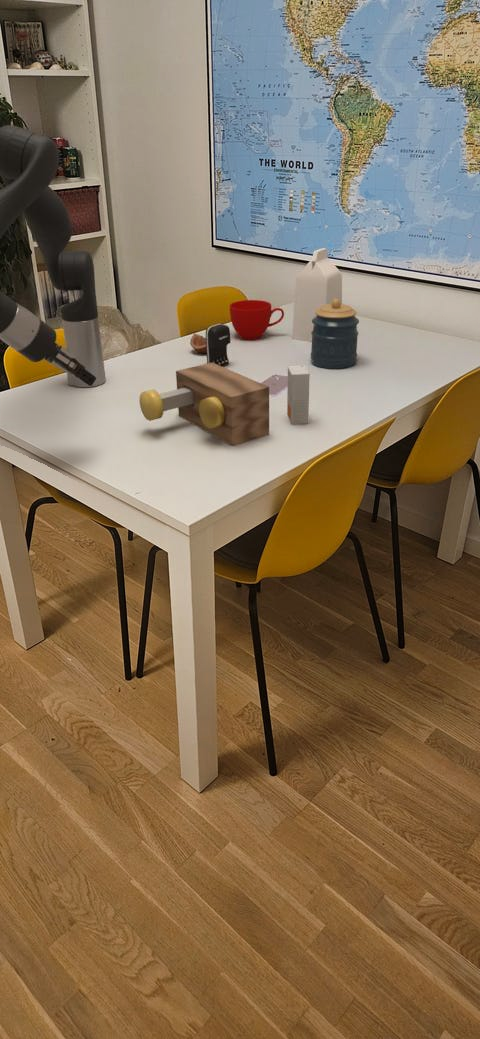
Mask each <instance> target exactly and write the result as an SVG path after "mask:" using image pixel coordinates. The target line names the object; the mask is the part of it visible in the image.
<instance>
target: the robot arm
mask: <svg viewBox="0 0 480 1039" xmlns="http://www.w3.org/2000/svg"><path fill="white" fill-rule="evenodd" d="M59 154H60V152H59V148H58V146H57V144H56V142H55V141H54V140H53V139H52V138H50V137H48V136H46V135H43V134H41V133H38V132H35V131H31V130H29V129H26V128H22V127H20V126H17V125H10V124H9V125H8V124H7V125H3V126H0V177H1V178H2V180H3V181H4V183H5V185H6V186H5V187H2V188H0V240H1V239H2V237H3V236H4V234H5V233H6V231H7V230H8V229H9V228H10V227H11V225H13V223H14V222H15V221H16V220H17V218H19V217H20V216H21V215H23V217H24V219H25V223H26V225H27V227H28V229H29V231H30V233H31V236H32V237H33V239H34V241H35V242H36V245H37V247H38V249H39V252H40V254H41V256H42V258H43V262H44V265H45V268H46V272H47V274H48V277H49V280H50V283H51V284H52V286H53V287H54V288H55V289H56V290H58V291H64V292H67V291H68V292H72V291H74V292H75V291H81V292H82V293H81V296H79V297H78V298H77V299H75V300H73V301H71V302H68V303H66V304H64V305H63V306H62V307H61V308H60V317H61V322H62V329H63V330H62V331H63V337H64V342H65V347H64V346H62V345H60V344H58V343H56V341H57V338H58V337H57V332H56V330H55V329H54V328H52V327H51V326H50V325H49V324H48V323H46V322H44V320H42V319H41V318H39V317H38V316H37V315H36V314H34V313H33V312H31V311H30V310H29V309H28V308H26V307H24V306H22V305H21V304H19V303H18V302H16V301H15V300H14V299H12V298H11V297H9V296H8V295H6V294H5V293H4V292H2V291H1V290H0V340H1V341H2V342H3V343H5V344H6V345H8V346H9V347H10V348H12V349H13V350H14V351H16V352H17V353H19V354H20V355H21V356H23V357H25V358H26V359H27V360H29V361H30V362H32V363H39V362H41V361H43V360H44V361H46V362H47V363H49V364H51V365H53V366H54V367H56V368H58V369H60V370H61V371H62V372H64V373H66V375H67V381H68V382H67V383H68V386H74V387H77V388H92V387H93V388H94V387H97V386H100V385H102V384H105V383H106V380H107V378H106V370H105V360H104V353H103V346H102V345H103V343H102V336H101V329H100V327H101V326H100V317H99V311H98V303H97V302H98V301H97V293H96V278H95V267H94V266H95V265H94V260H93V257H92V254H91V253H90V252H89V251H87V250H69V251H68V250H67V251H66V250H65V251H64V249H66V247H67V246H68V244H69V242H70V241H71V238H72V236H73V223H72V219H71V216H70V213H69V210H68V209H67V206H66V204H65V203H64V201H63V199H62V198H61V197H60V196H59V194H57V193H56V191H54V189H53V188H51V187H50V186H49V185H50V184H51V183H52V182H53V181H54V179H55V176H56V174H57V171H58V168H59V162H60V160H59V159H60V158H59V157H60V155H59Z"/></svg>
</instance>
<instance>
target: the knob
mask: <svg viewBox="0 0 480 1039" xmlns="http://www.w3.org/2000/svg"><path fill="white" fill-rule="evenodd" d="M193 403H194V397H193V389H192V388H190V387H185V388H181V389H177V388H176V389H174V390H173V389H172V390H170V391H167V392H161V393H159V392H158V391H156V390H155V389H150V390H146V391H142V392H140V395H139V406H140V407H139V408H140V410H141V413H142V414H143V417H144V418H145V419H146V420H147V421H149V422H151V421H154V420H155V421H156V420H158V419H161V418H162V417H163V415H164V412H166V411H170V410H171V411H172V410H174V409H178V407H182V406H186V405H190V404H193Z"/></svg>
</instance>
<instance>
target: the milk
mask: <svg viewBox="0 0 480 1039" xmlns="http://www.w3.org/2000/svg"><path fill="white" fill-rule="evenodd" d="M327 250H328V249H327V247H324V248H323V247H322V248H319V249H316V250H313V253H312V258H311V260H310V261H308V262H307V264H306V265H305V267H304V268H303V269H302V270H301V271H300V272H299V273H298V275H297V276H296V278H295V283H294V284H295V287H294V304H293V315H292V316H293V318H292V332H291V333H292V336H291V339H292V340H297V341H303V342H308V343H312V334H311V332H312V330H313V326H314V324H313V323H312V319H313V318H314V317H316V314H315V311H316V310H317V309H319V308H320V307H321V306H323V305H328V304H331V303H332V300H333V299H339V300H340V301H341V304H343V276H342V273H341V271H340V270H339V269H338V267H337V266H336V265H335V264H334V262H332V260H330V258H329V256H328V255H329V254H328V251H327Z"/></svg>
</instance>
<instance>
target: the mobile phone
mask: <svg viewBox="0 0 480 1039" xmlns="http://www.w3.org/2000/svg"><path fill="white" fill-rule="evenodd" d="M260 383H261V384H263V385H266V386H268V387H269V396H271V397H270V398H272V397H273V398H275V397H277V396H278V395H280V394H281V393H282V391H283V392H284V391H286V390H288V375H281V374H274V375H271V376H270V377H268V378H267V379H265V380H264V381H262V382H260ZM274 396H275V397H274Z"/></svg>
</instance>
